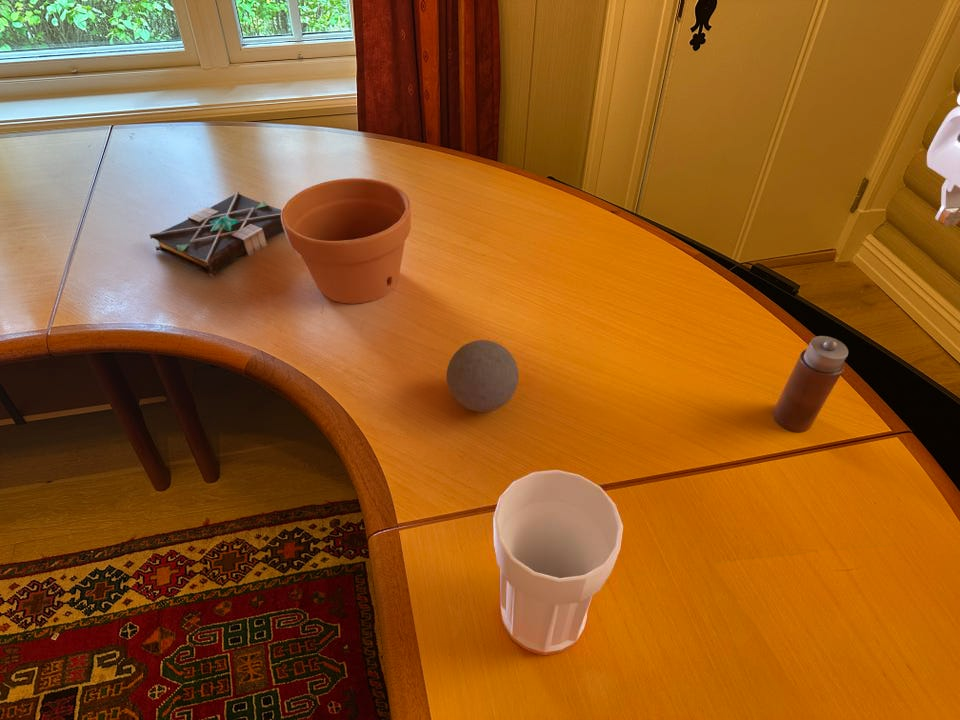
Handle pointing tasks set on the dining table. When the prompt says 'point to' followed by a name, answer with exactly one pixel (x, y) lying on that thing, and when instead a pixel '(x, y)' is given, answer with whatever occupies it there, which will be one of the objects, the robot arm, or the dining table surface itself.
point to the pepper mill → (810, 383)
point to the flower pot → (350, 236)
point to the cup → (553, 556)
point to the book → (221, 233)
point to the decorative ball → (482, 376)
